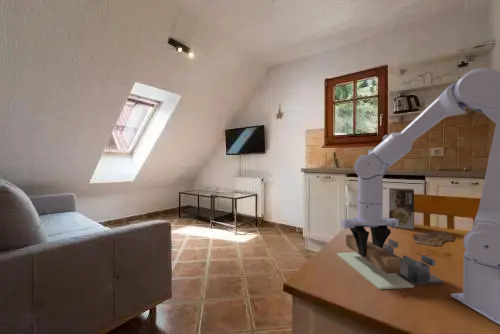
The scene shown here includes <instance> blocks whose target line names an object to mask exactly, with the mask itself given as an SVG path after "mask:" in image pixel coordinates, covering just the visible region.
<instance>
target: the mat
mask: <svg viewBox="0 0 500 334" xmlns="http://www.w3.org/2000/svg"><path fill="white" fill-rule="evenodd" d="M336 255H337V256H338V257H339V258H341V259H342V260H343V261H344V262H346V263H347V264H348V265H349V266H350V267H351V268H353V269H354V270H355V271H357V272H358V273H359V274H360V275H361V276H362V277H363V278H365V279H366V280H367V281H369V283H371V284H372V285H373V286H374V287H376V288H377V289H378V290H392V289H393V290H394V289H395V290H396V289H411V288H414V287H415V285H414V284H412V283H411V282H409V281H408V280H406V279H405V278H403V277H401V276H400V275H398V274H397V273H391V274H386V273H385V272H383V271H382V270H381V269H379V268H378V267H376V266H375V265H373V264H372V263H370V262H369V261H368V260H366V259H365V258H363V257H362V256H360V255H359V254H358V253H356V252H355V251H353V252H352V251H351V252H350V251H349V252H336Z"/></svg>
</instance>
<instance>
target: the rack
mask: <svg viewBox="0 0 500 334" xmlns="http://www.w3.org/2000/svg"><path fill="white" fill-rule="evenodd" d="M387 241H388V242H387V243H384V245H383V248H382V249H384V250H386V251H387V252H389V253H391V254H393V255H395V256H396V257H398V258H400V273H396V274H397V275H398V276H400V277H401V278H403V279H404V280H406V281H407V282H409V283H411V284H412V285H414V286H420V285H421V286H423V285H438V284H444V280H443V279H441V278H439V277H437V276H436V275H433V273H432V274H431V273H430V271H431V270H430V268H431V267H434V266H436V260H435V259H434V258H432V257H430V256H428V255H426V254H421V255H420V258H421V261H420V260H416V259H413V258H412V257H409V256H408V255H403V256H402V257H400V256H398V255H397V254H394V253H395V252H394V249H396V248H399V242H398V241H395V240H393V239H391V238H390V239H388V238H387ZM430 266H431V267H430Z"/></svg>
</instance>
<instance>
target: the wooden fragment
mask: <svg viewBox="0 0 500 334" xmlns="http://www.w3.org/2000/svg"><path fill="white" fill-rule="evenodd" d="M438 231H439V232H437V231H425V232H417V233H413V240H414V244H415V245H421V246H431V247H442V245H443V244H444V243H446V242H452V241H455V239H456V236H454V235H453V234H451V233H448V232H447V231H444V230H442V231H441V230H438Z"/></svg>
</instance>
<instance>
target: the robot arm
mask: <svg viewBox="0 0 500 334" xmlns="http://www.w3.org/2000/svg"><path fill="white" fill-rule="evenodd" d="M465 108H468V109H470V110H471V111H472V110H473V111H476V112H478V113H481V114H483V115H485V116H486V117H487V118H489V120H491V121H492V122H494V123H495V128H494V133H493V137H492V142H491V147H490V152H489V158H488V162H487V167H486V171H485V177H484V180H483V181H484V182H483V186H482V191H481V196H480V199H479V200H480V201H479V205H478V209H477V211H476V215H475V218H474V223H473V226H472V227H471V229H469V231H468V232H466V233H465V235H464V238H463V240H462V241H463V243H462V244H463V247H464V249H465V251H464V252H463V277H462V279H463V283H462V285H463V286H462V288H463V290H462V292H457V293H455V292H453V293H451V294H450V297H452V298H453V299H455V300H457V301H459V302H460V303H462V304H464V305H465V306H467V307H469V308H470V309H472V310H473V311H475V312H477V313H479V314H480V315H482V316H484V317H485V318H486V319H489V320H490V321H492V322H494V323H496V324H497V325H499V326H500V71H497V70H496V69H493V68H490V67H479V68H475V69H472V70H470V71H468V72H466V73H464V74H462V76H461V77H460V78H459V79H458V80H457V82H456V83H455V82H453V83H452V84H450V85H449V86H448V87H446V88H445V89H444V91H443V92H442V93H441V94H440V95H439V96H437V98H435V100H434V101H432V103H430V104H429V105H428V106H427V107H426V108H425V109H424V110H423V111H422V112H421V113H419V115H418V116H417V117H415V118H414V119H413V120H412V121H410V123H409V124H408V125H407V126H406V127H405V128H404V129H402V130H401V131H400V132H391V133H390V134H385V135H384V136H382V140H381V142H380V143H378V145H376V146H375V147H374V148H372V149H369V150H368V151H367V154H363V155H360V156H358V158H357V159H356V160H355V163H354V165H353V170H354V172H355V174H356V175H357V217H352V218H343V219H340V228H343V229H344V230H345V229H346V230H347V229H349V230H350V231H351V234H352V235H354V238H355V240H356V243H357V247H358V251H359V254H360V255H361V256H363V257H366V253H367V241H369V235H370V233H371V239H372V240H371V243H373V244H375V245H377V246H378V247H380V248H383V245H384V244H386V240H388V237H389V236H390V235H391V232H392V231H391V229H390V228H396V227H399V220H398V219H395V218H389V217H383V216H384V215H383V211H384V210H383V209H384V207H383V206H384V205H383V204H384V202H383V201H384V200H383V199H384V198H383V196H384V195H383V194H384V192H383V191H384V188H383V187H384V183H383V182H384V181H383V179H384V178H383V177H384V176H385V175H386V173H387V171H388V168H390V167H392V166H393V165H394V164H395V163H397V162H398V161H399V160H400V159H402V158H403V157H405V156H406V155H407V154H408V153H410V152H411V151H412V147H413V142H414V141H416V140H417V139H418V138H420V137H422V135H424V134H425V133H427V132H428V131H429V130H430V129H432V128H433V127H435V126H436V125H437V124H439V123H440V122H441V121H442V120H444V119H445V118H447V117H452V116H457V115H463V114H466V113H467V111H466V109H465ZM366 228H369V229H370V231H367V230H366Z"/></svg>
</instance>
